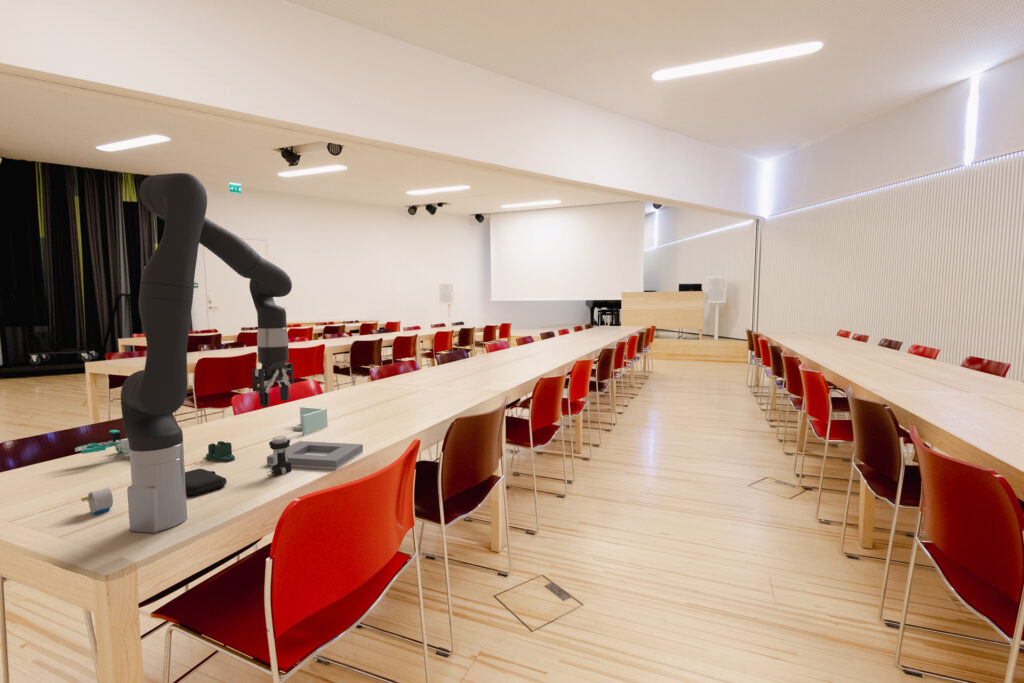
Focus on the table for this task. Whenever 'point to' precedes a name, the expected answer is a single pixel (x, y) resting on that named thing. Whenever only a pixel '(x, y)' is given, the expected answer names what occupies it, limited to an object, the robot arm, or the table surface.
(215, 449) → the mount
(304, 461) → the plate
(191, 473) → the carrying case or bag
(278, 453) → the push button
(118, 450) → the robot kit
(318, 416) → the l-shaped corner panel
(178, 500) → the robot arm
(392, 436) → the table surface
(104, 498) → the electric motor
